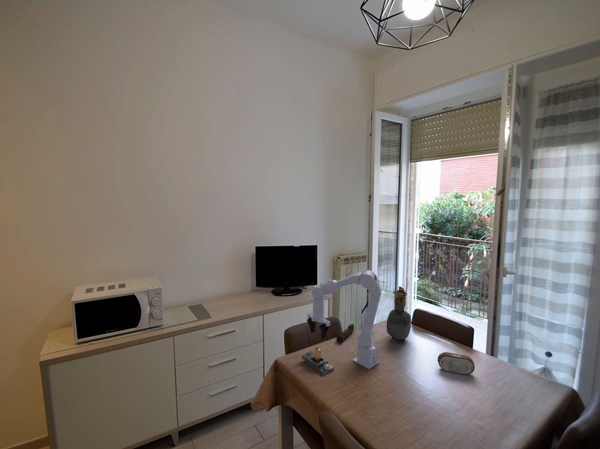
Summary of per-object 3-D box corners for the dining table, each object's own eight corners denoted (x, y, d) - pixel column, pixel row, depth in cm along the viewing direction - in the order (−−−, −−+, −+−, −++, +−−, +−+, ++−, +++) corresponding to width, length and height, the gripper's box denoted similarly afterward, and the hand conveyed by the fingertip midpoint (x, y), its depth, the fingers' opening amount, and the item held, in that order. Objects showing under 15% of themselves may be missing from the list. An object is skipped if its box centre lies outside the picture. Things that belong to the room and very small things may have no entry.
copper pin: (321, 365, 140) (322, 349, 140) (317, 368, 138) (317, 351, 138) (317, 363, 143) (317, 346, 142) (312, 365, 141) (313, 349, 140)
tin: (473, 373, 135) (474, 355, 135) (474, 377, 132) (476, 359, 132) (437, 367, 140) (437, 350, 140) (437, 370, 137) (438, 353, 137)
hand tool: (342, 344, 162) (342, 335, 161) (336, 341, 164) (336, 333, 164) (357, 331, 177) (358, 324, 176) (351, 329, 179) (352, 322, 179)
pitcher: (384, 342, 163) (386, 289, 160) (394, 330, 179) (396, 281, 176) (404, 348, 157) (407, 293, 154) (413, 334, 173) (415, 284, 170)
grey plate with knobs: (333, 370, 137) (334, 363, 137) (323, 375, 133) (323, 369, 132) (311, 356, 148) (311, 350, 148) (301, 361, 144) (301, 355, 144)
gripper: (303, 306, 152) (302, 332, 154) (323, 315, 142) (322, 343, 143) (313, 303, 157) (312, 328, 158) (333, 312, 146) (332, 338, 147)
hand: (318, 335), depth 151 cm, fingers open, 7 cm apart
